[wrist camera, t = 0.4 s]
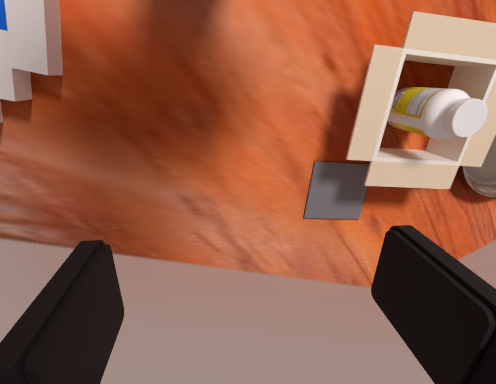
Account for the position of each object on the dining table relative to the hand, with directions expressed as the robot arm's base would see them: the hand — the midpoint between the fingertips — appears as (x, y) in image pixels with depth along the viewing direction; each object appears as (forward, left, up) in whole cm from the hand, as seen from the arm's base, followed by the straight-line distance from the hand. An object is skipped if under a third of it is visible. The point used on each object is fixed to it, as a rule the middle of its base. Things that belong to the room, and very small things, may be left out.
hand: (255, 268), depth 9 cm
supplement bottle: (-4, +30, -36) cm, 47 cm away
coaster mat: (+12, +22, -36) cm, 44 cm away
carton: (-4, +30, -36) cm, 47 cm away
